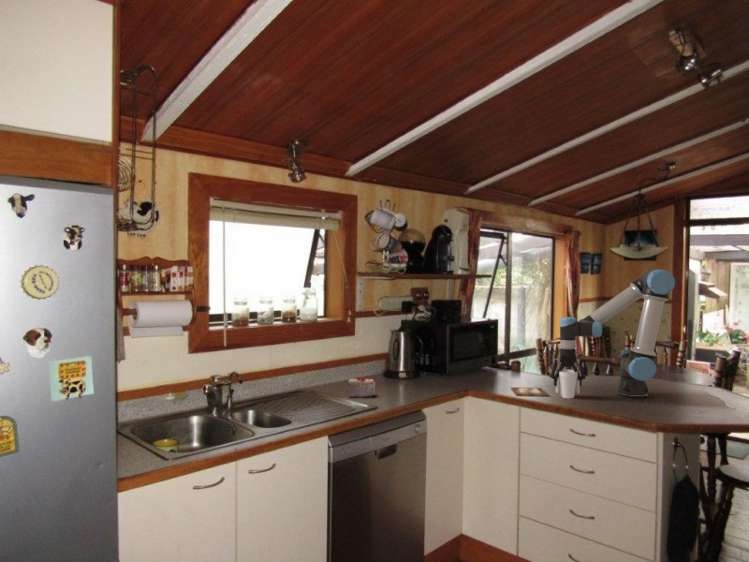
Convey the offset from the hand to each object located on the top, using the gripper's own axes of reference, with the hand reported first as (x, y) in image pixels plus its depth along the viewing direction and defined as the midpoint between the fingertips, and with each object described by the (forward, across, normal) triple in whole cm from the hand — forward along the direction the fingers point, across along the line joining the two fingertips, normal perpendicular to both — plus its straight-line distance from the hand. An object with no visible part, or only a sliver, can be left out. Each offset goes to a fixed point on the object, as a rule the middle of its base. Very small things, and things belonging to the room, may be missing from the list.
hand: (567, 392), depth 270 cm
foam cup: (+2, 0, 0) cm, 2 cm away
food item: (+2, +103, +7) cm, 104 cm away
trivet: (+2, +17, -8) cm, 19 cm away
